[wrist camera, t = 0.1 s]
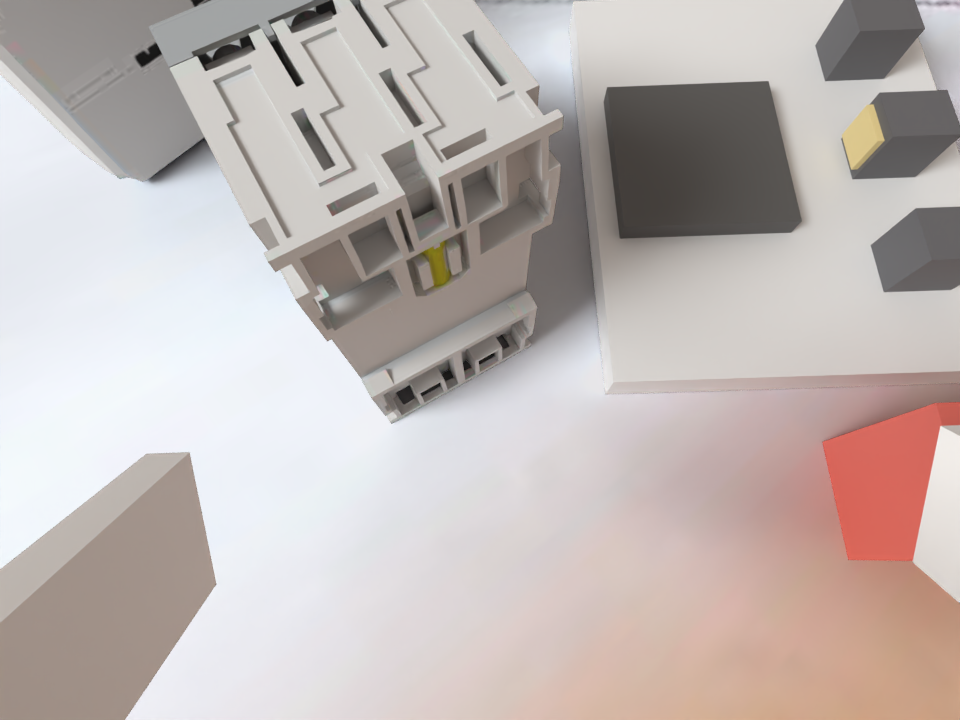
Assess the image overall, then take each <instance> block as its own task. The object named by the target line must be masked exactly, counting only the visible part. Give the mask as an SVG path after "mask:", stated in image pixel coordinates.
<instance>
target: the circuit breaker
mask: <svg viewBox="0 0 960 720" xmlns="http://www.w3.org/2000/svg"><path fill="white" fill-rule="evenodd" d="M148 27H149V29H150V31H151V33H152V35H153V37H154V39H155V41H156V43H157V45H158V47H159V49H160V51H161V53H162V55H163V57H164V58H165V60H166V62H167V64H168V66H169V68H170V70H171V72H172V74H173V76H174V78H175V80H176V82H177V84H178V86H179V88H180V90H181V92H182V94H183V96H184V98H185V100H186V102H187V104H188V106H189V108H190V110H191V112H192V113H193V115H194V117H195V119H196V121H197V123H198V125H199V127H200V129H201V131H202V133H203V135H204V137H205V139H206V141H207V143H208V145H209V147H210V149H211V151H212V153H213V155H214V157H215V159H216V161H217V163H218V165H219V166H220V168H221V170H222V172H223V174H224V176H225V178H226V180H227V182H228V184H229V186H230V188H231V190H232V192H233V194H234V196H235V198H236V200H237V202H238V204H239V206H240V208H241V210H242V212H243V214H244V216H245V218H246V220H247V221H248V223H249V225H250V227H251V228H252V229H253V231H254V232H255V233H256V235H257V236H258V237H259V239H260V240H261V241H262V243H263V244H264V245H265V247H266V248H267V249H268V251H267V252H265V253H264V255H265V257H266V259H267V261H268V262H269V264H270V265H271V267H272V268H273V269H274V271H275V272H276V271H278V270H280V271H281V272H282V274H283V276H284V278H285V280H286V282H287V284H288V286H289V288H290V290H291V292H292V294H293V296H294V298H295V300H296V301H297V302H298V304H299V305H300V307H301V308H302V309H303V311H304V312H305V313H306V315H307V316H308V317H309V318H310V320H311V321H312V322H313V324H314V325H315V326H316V327H317V329H318V330H319V331H320V332H321V334H322V335H323V336H324V338H325V339H326V340H327V341H329V340H331V339H332V340H333V342H334V343H335V344H336V346H337V347H338V348H339V350H340V351H341V352H342V354H343V355H344V356H345V358H346V359H347V360H348V362H349V363H350V364H351V366H352V367H353V368H354V370H355V371H356V372H357V374H358V375H359V376H360V378H361V379H362V381H363V384H364V385H365V387H366V389H367V391H368V393H369V394H370V396H371V398H372V399H373V401H374V402H375V403H376V404H377V406H378V407H379V408H380V410H381V411H382V412H383V413H384V415H385V416H386V415H387V417H388V419H389V421H390V422H391V424H392V423H394V422H395V421H397V420H399V419H401V418H403V417H404V416H406V415H408V414H410V413H412V412H413V411H415V410H417V409H419V408H421V407H422V406H424V405H426V404H428V403H430V402H431V401H433V400H435V399H437V398H439V397H440V396H442V395H444V394H446V393H448V392H449V391H451V390H453V389H455V388H457V387H458V386H460V385H462V384H464V383H466V382H467V381H469V380H471V379H473V378H475V377H476V376H478V375H480V374H482V373H484V372H485V371H487V370H489V369H491V368H493V367H494V366H496V365H498V364H500V363H502V362H503V361H505V360H507V359H509V358H511V357H512V356H514V355H516V354H518V353H520V352H521V351H523V350H525V349H527V348H529V347H530V346H531V343H530V341H529V340H528V338H527V337H529V336H531V335H533V330H534V324H535V319H536V313H537V305H536V304H535V302H534V300H533V298H532V296H531V294H530V293H529V292H527V291H526V282H527V274H528V266H529V257H530V249H531V241H532V234H533V233H535V232H537V231H539V230H541V229H543V228H545V227H547V226H548V225H550V224H552V222H553V216H554V211H555V205H556V199H557V194H558V188H559V182H560V171H561V164H560V163H559V162H558V160H557V159H556V158H555V156H554V155H553V154H552V152H551V151H550V150H549V136H550V135H552V134H554V133H556V132H558V131H560V130H562V129H563V118H564V116H563V115H562V113H561V112H560V111H559V109H556V110H554V111H552V112H550V113H548V114H546V115H543V114H542V112H541V111H540V110H539V108H538V107H537V105H538V95H539V84H538V82H537V81H536V80H535V79H534V77H533V76H532V75H531V73H530V72H529V71H528V70H527V68H526V67H525V66H524V64H523V63H522V62H521V61H520V59H519V58H518V57H517V55H516V54H515V53H514V52H513V50H512V49H511V48H510V46H509V45H508V44H507V43H506V41H505V40H504V39H503V37H502V36H501V35H500V34H499V32H498V31H497V30H496V28H495V27H494V26H493V25H492V23H491V22H490V21H489V19H488V18H487V17H486V16H485V14H484V13H483V12H482V10H481V9H480V8H479V7H478V5H477V4H476V3H475V1H474V0H211V1H208V2H206V3H204V4H201V5H199V6H196V7H194V8H192V9H189V10H187V11H184V12H182V13H180V14H177V15H175V16H172V17H170V18H168V19H165V20H163V21H160V22H158V23H156V24H153V25H151V26H148ZM530 178H531V179H532V181H533V182H534V183H535V185H536V186H537V188H538V189H539V190H540V192H539V191H538V189H537V188H536V186H535V185H534V184H533V182H532V181H531V180H530ZM500 335H503V336H504V338H505V340H506V342H507V343H508V345H509V347H507V348H505V349H504V350H502V346H501V344H500V343H499V341H498V340H497V337H499V336H500ZM492 353H494V354H495V356H494V357H492V358H491V359H489V360H487V361H485V362H483V363H481V364H480V365H479V361H480V360H482V359H483V358H485V357H487V356H489V355H491V354H492ZM466 360H467V361H468V363H469V364H470V366H471V368H469V369H467V370H465V371H464V368H463V362H464V361H466ZM448 370H450V371H451V373H452V374H453V376H454V377H453V378H451V379H449V380H447V381H445V380H444V378H443V376H442V375H441V374H443V373H444V372H446V371H448ZM438 383H440V385H441V386H440V387H438V388H436V389H434V390H433V391H431V392H429V393H427V394H425V395H424V396H421V394H420V393H422V392H424V391H425V390H427V389H429V388H431V387H433V386H434V385H436V384H438ZM407 386H410V388H411V390H412V392H413V394H414V396H415V399H413V400H411V401H409V402H408V403H406V404H403V403H402V402H401V400H400V399H399V397H398V395H397V394H396V392H398V391H400V390H402V389H404V388H405V387H407Z"/></svg>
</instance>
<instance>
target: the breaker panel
mask: <svg viewBox="0 0 960 720" xmlns="http://www.w3.org/2000/svg"><path fill="white" fill-rule="evenodd" d="M924 29H925V27H924V25H923V22H922V19H921V16H920V14H919V11H918V8H917V5H916V3H915V0H598V1H573V7H572V14H571V21H570V28H569V39H570V49H571V59H572V69H573V79H574V89H575V99H576V109H577V119H578V129H579V139H580V149H581V159H582V169H583V179H584V189H585V199H586V209H587V219H588V229H589V239H590V249H591V259H592V269H593V279H594V289H595V299H596V309H597V319H598V329H599V339H600V349H601V359H602V369H603V379H604V389H605V394H636V393H667V392H699V391H731V390H763V389H795V388H826V387H858V386H890V385H922V384H953V383H960V153H959V150H958V148H957V145H956V142H955V141H956V140H957V139H958V138H959V137H960V124H959V121H958V118H957V116H956V113H955V110H954V107H953V105H952V102H951V99H950V96H949V94H948V91H947V90H937V88H936V86H935V83H934V80H933V77H932V74H931V72H930V69H929V66H928V63H927V60H926V58H925V55H924V52H923V49H922V46H921V43H920V41H919V38H918V36H919V35H920V34H921V33H922V32H923V30H924Z"/></svg>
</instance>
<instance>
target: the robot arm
mask: <svg viewBox="0 0 960 720" xmlns="http://www.w3.org/2000/svg"><path fill="white" fill-rule="evenodd" d="M913 563H914V564H915V565H916V566H917V567H919V568H920V569H921V570H922V571H923V572H924V573H925V574H927V575H928V576H929V577H930V578H931V579H932V580H934V581H935V582H936V583H937V584H938V585H939V586H940V587H942V588H943V589H944V590H945V591H946V592H947V593H948V594H950V595H951V596H952V597H953V598H954V599H955V600H956V601H958V602H959V603H960V425H951V426H940V430H939V435H938V440H937V445H936V450H935V455H934V460H933V465H932V469H931V474H930V479H929V484H928V489H927V494H926V499H925V504H924V508H923V513H922V518H921V523H920V528H919V533H918V538H917V543H916V548H915V552H914V557H913ZM215 585H216V580H215V575H214V570H213V566H212V561H211V556H210V551H209V546H208V541H207V536H206V531H205V526H204V521H203V517H202V512H201V507H200V502H199V497H198V492H197V487H196V482H195V477H194V472H193V468H192V463H191V458H190V453H189V452H185V453H157V454H146V455H144V456H143V457H142V458H141V459H139V460H138V461H137V462H136V463H134V464H133V465H132V466H131V467H129V468H128V469H127V470H126V471H124V472H123V473H122V474H120V475H119V476H118V477H117V478H115V479H114V480H113V481H112V482H110V483H109V484H108V485H107V486H105V487H104V488H103V489H101V490H100V491H99V492H98V493H96V494H95V495H94V496H93V497H91V498H90V499H89V500H88V501H86V502H85V503H84V504H83V505H81V506H80V507H79V508H77V509H76V510H75V511H74V512H72V513H71V514H70V515H69V516H67V517H66V518H65V519H64V520H62V521H61V522H60V523H58V524H57V525H56V526H55V527H53V528H52V529H51V530H50V531H48V532H47V533H46V534H45V535H43V536H42V537H41V538H40V539H38V540H37V541H36V542H34V543H33V544H32V545H31V546H29V547H28V548H27V549H26V550H24V551H23V552H22V553H21V554H19V555H18V556H17V557H15V558H14V559H13V560H12V561H10V562H9V563H8V564H7V565H5V566H4V567H3V568H2V569H0V720H125V719H126V717H127V716H128V714H129V713H130V711H131V710H132V708H133V707H134V705H135V704H136V703H137V701H138V700H139V698H140V697H141V695H142V694H143V692H144V691H145V689H146V688H147V686H148V685H149V683H150V682H151V680H152V679H153V677H154V676H155V674H156V673H157V671H158V670H159V668H160V667H161V665H162V664H163V662H164V661H165V659H166V658H167V656H168V655H169V654H170V652H171V651H172V649H173V648H174V646H175V645H176V643H177V642H178V640H179V639H180V637H181V636H182V634H183V633H184V631H185V630H186V628H187V627H188V625H189V624H190V622H191V621H192V619H193V618H194V616H195V615H196V613H197V612H198V610H199V609H200V607H201V606H202V604H203V603H204V602H205V600H206V599H207V597H208V596H209V594H210V593H211V591H212V590H213V588H214V587H215Z"/></svg>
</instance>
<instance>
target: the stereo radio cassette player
mask: <svg viewBox="0 0 960 720" xmlns="http://www.w3.org/2000/svg"><path fill="white" fill-rule="evenodd" d="M208 1H211V0H0V75H1V76H2V77H3V78H5V79H6V80H7V81H8V82H9V83H10V84H11V85H12V86H13V87H14V88H15V89H16V90H17V91H18V92H19V93H20V94H21V95H22V96H23V97H24V98H25V99H26V100H27V101H28V102H29V103H30V104H31V105H32V106H33V107H34V108H35V109H36V110H37V111H38V112H39V113H40V114H41V115H42V116H44V117H45V118H46V119H47V120H48V121H49V122H50V123H51V124H52V125H53V126H54V127H55V128H56V129H57V130H58V131H59V132H60V133H61V134H62V135H63V136H64V137H65V138H66V139H67V140H68V141H70V142H71V143H72V144H73V145H74V146H75V147H76V148H77V149H79V150H80V151H81V152H82V153H83V154H84V155H86V156H87V157H88V158H90V159H91V160H92V161H94V162H95V163H96V164H98V165H99V166H101V167H102V168H103V169H105V170H106V171H107V172H109V173H111V174H113V175H115V176H117V177H118V178H119V179H122V178H126V177H128V178H132V179H137V180H139V181H142V182H143V181H146V180H148V179H149V178H150V177H152V176H153V175H154V174H156V173H157V172H158V171H160V170H161V169H162V168H164V167H165V166H166V165H168V164H169V163H170V162H172V161H173V160H175V159H176V158H177V157H179V156H180V155H181V154H183V153H184V152H185V151H187V150H188V149H189V148H191V147H192V146H193V145H195V144H196V143H197V142H199V141H200V140H202V139H203V138H204V135H203V133H202V131H201V129H200V127H199V125H198V123H197V121H196V119H195V117H194V115H193V113H192V112H191V110H190V108H189V106H188V104H187V102H186V100H185V98H184V96H183V94H182V92H181V90H180V88H179V86H178V84H177V82H176V80H175V78H174V76H173V74H172V72H171V70H170V68H169V66H168V64H167V62H166V60H165V58H164V57H163V55H162V53H161V51H160V49H159V47H158V45H157V43H156V41H155V39H154V37H153V35H152V33H151V31H150V29H149V27H148V26H151V25H153V24H156V23H158V22H160V21H163V20H165V19H168V18H170V17H172V16H175V15H177V14H180V13H182V12H184V11H187V10H189V9H192V8H194V7H196V6H199V5H201V4H204V3H206V2H208Z"/></svg>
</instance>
